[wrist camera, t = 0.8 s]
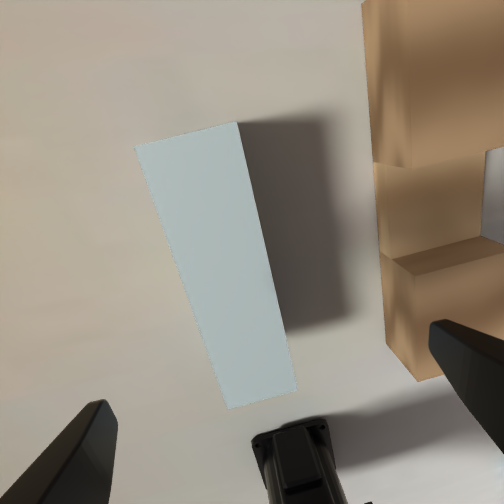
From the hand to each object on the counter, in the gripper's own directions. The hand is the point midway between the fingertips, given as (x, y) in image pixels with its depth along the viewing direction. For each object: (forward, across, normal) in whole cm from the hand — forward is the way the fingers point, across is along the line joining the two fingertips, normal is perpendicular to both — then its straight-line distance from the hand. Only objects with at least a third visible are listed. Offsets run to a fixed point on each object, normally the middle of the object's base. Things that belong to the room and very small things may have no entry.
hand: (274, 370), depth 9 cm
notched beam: (+12, -12, 0) cm, 17 cm away
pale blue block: (+12, +1, +1) cm, 12 cm away
